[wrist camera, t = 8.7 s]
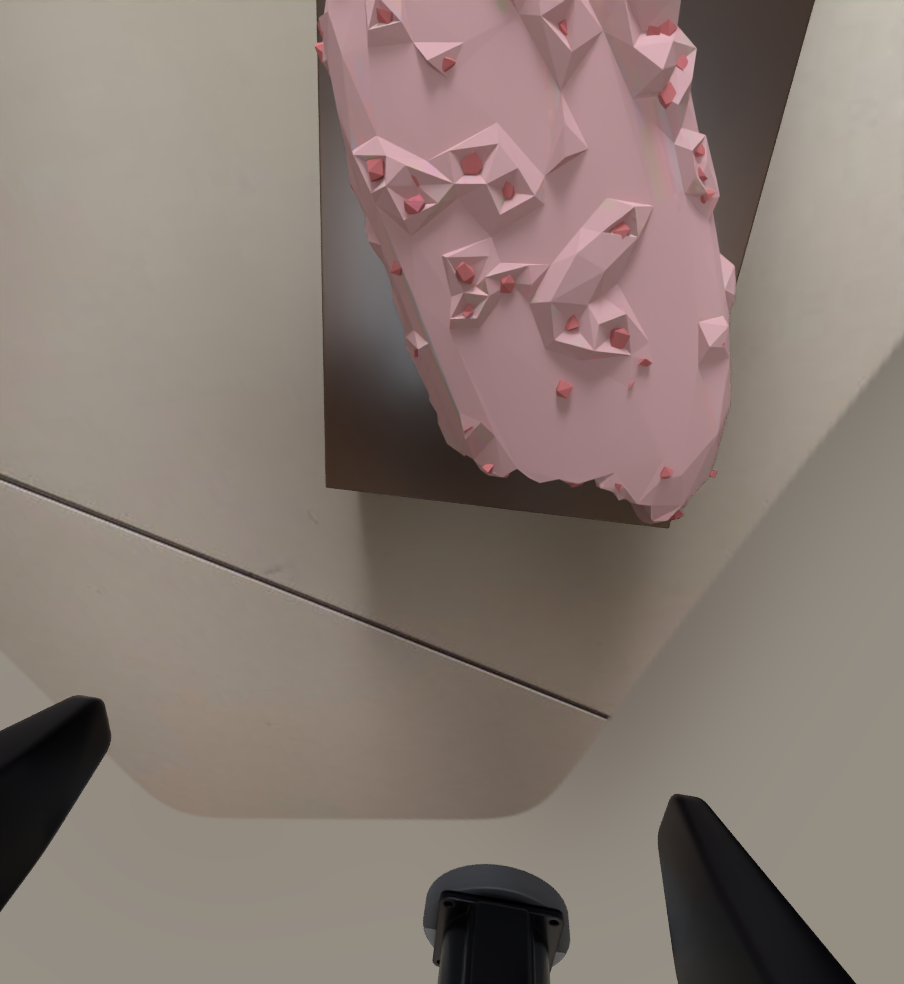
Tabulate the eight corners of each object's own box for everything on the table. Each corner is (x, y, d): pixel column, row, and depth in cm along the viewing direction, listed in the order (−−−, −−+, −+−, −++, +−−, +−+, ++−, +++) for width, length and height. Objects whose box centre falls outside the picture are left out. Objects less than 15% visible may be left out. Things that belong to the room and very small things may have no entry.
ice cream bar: (597, -810, 5) (806, 510, 9) (555, -320, 9) (717, 447, 13) (92, -390, 6) (486, 596, 11) (250, -124, 10) (490, 516, 15)
